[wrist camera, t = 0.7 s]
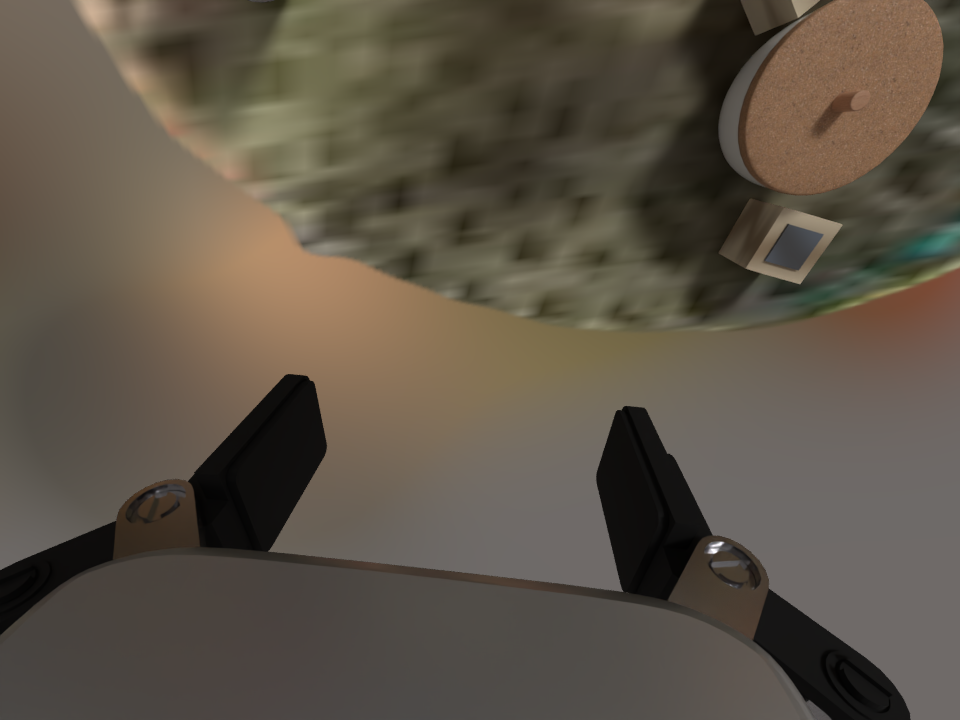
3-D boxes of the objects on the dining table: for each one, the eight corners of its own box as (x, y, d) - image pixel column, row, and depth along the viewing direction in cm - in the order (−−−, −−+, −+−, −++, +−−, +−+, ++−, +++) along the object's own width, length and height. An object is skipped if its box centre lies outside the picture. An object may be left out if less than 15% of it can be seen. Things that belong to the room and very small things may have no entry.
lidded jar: (830, 165, 32) (938, 175, 24) (693, 197, 34) (751, 216, 26) (860, 0, 27) (1010, -60, 19) (697, 49, 29) (769, 14, 21)
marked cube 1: (749, 198, 34) (785, 207, 29) (801, 213, 34) (844, 225, 29) (717, 252, 36) (746, 269, 32) (766, 266, 36) (801, 284, 32)
